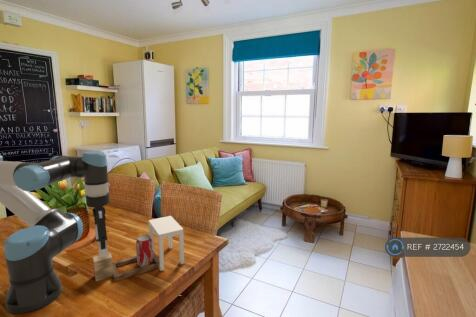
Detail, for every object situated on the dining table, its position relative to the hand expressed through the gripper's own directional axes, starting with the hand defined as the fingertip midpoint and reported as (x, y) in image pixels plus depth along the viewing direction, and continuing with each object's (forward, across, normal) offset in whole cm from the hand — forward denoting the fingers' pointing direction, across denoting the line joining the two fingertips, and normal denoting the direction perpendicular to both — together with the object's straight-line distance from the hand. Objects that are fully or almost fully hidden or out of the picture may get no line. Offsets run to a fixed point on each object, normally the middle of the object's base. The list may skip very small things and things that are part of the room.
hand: (101, 247), depth 99 cm
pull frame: (+12, 0, -9) cm, 15 cm away
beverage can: (+12, 0, -15) cm, 19 cm away
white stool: (+12, 0, -24) cm, 27 cm away
